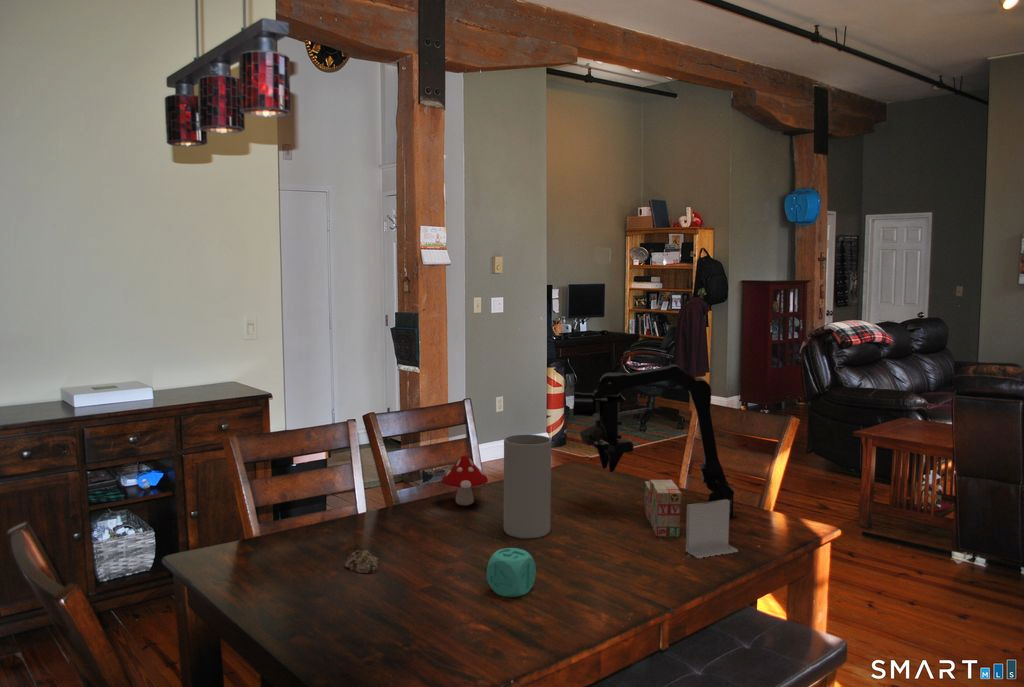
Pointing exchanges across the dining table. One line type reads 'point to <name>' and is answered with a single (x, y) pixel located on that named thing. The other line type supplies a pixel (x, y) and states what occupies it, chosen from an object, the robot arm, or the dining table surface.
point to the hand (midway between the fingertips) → (608, 470)
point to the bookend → (708, 529)
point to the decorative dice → (511, 572)
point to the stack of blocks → (663, 506)
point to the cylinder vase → (527, 486)
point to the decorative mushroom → (464, 479)
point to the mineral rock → (362, 562)
